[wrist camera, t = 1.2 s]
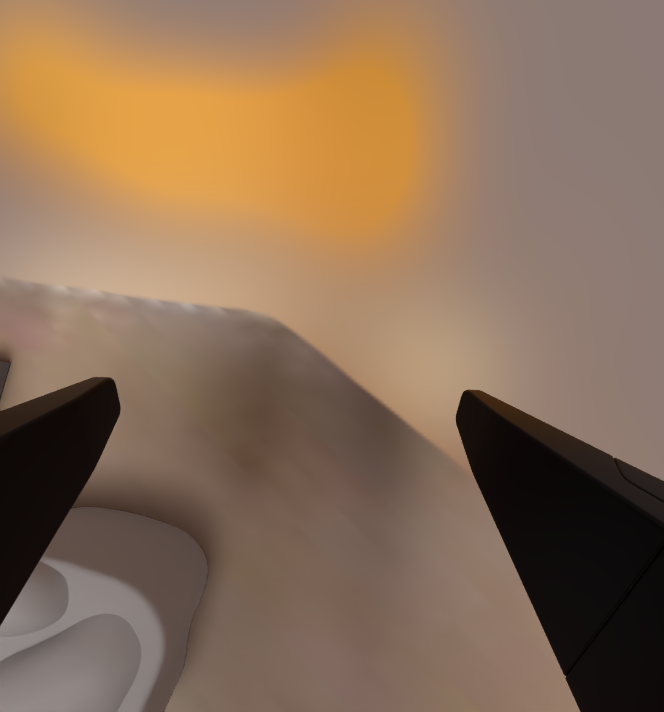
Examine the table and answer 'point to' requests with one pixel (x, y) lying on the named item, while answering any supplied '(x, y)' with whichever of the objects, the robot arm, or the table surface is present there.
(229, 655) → the table surface
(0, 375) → the rail board
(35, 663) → the paw print puck
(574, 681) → the robot arm
